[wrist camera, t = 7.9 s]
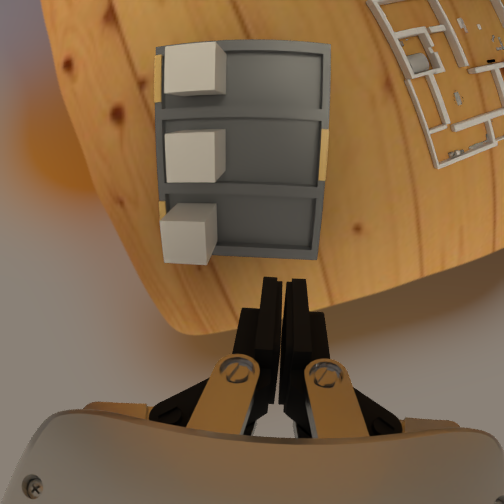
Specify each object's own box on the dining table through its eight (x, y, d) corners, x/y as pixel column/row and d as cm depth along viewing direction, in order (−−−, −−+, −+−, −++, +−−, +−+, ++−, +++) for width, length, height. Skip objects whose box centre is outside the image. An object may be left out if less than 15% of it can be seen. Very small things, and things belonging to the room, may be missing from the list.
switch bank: (323, 53, 19) (331, 43, 16) (312, 242, 26) (317, 261, 23) (170, 54, 20) (154, 46, 16) (176, 236, 27) (163, 253, 23)
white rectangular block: (226, 54, 17) (215, 41, 14) (225, 94, 19) (214, 89, 15) (184, 57, 17) (165, 46, 14) (183, 96, 19) (164, 93, 15)
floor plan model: (453, -75, 9) (460, -81, 7) (545, 121, 18) (556, 124, 16) (307, -70, 13) (308, -80, 12) (432, 167, 22) (442, 171, 21)
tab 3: (216, 203, 22) (204, 222, 18) (217, 240, 23) (206, 265, 20) (177, 202, 22) (159, 220, 19) (180, 239, 24) (164, 262, 20)
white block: (225, 128, 20) (214, 132, 16) (225, 170, 21) (214, 182, 17) (184, 130, 20) (164, 134, 16) (185, 170, 21) (166, 182, 18)
